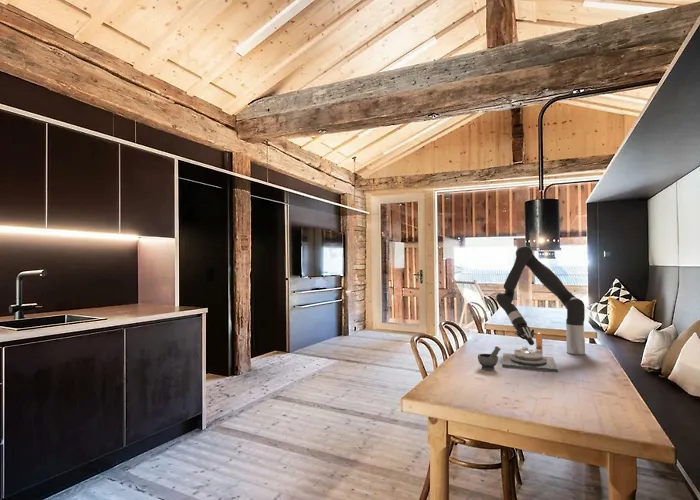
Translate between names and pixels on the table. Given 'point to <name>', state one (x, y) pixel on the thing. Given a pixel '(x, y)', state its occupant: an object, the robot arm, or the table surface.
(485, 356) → the mortar and pestle
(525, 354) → the grey disc with handle
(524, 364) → the base plate
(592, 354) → the table surface
